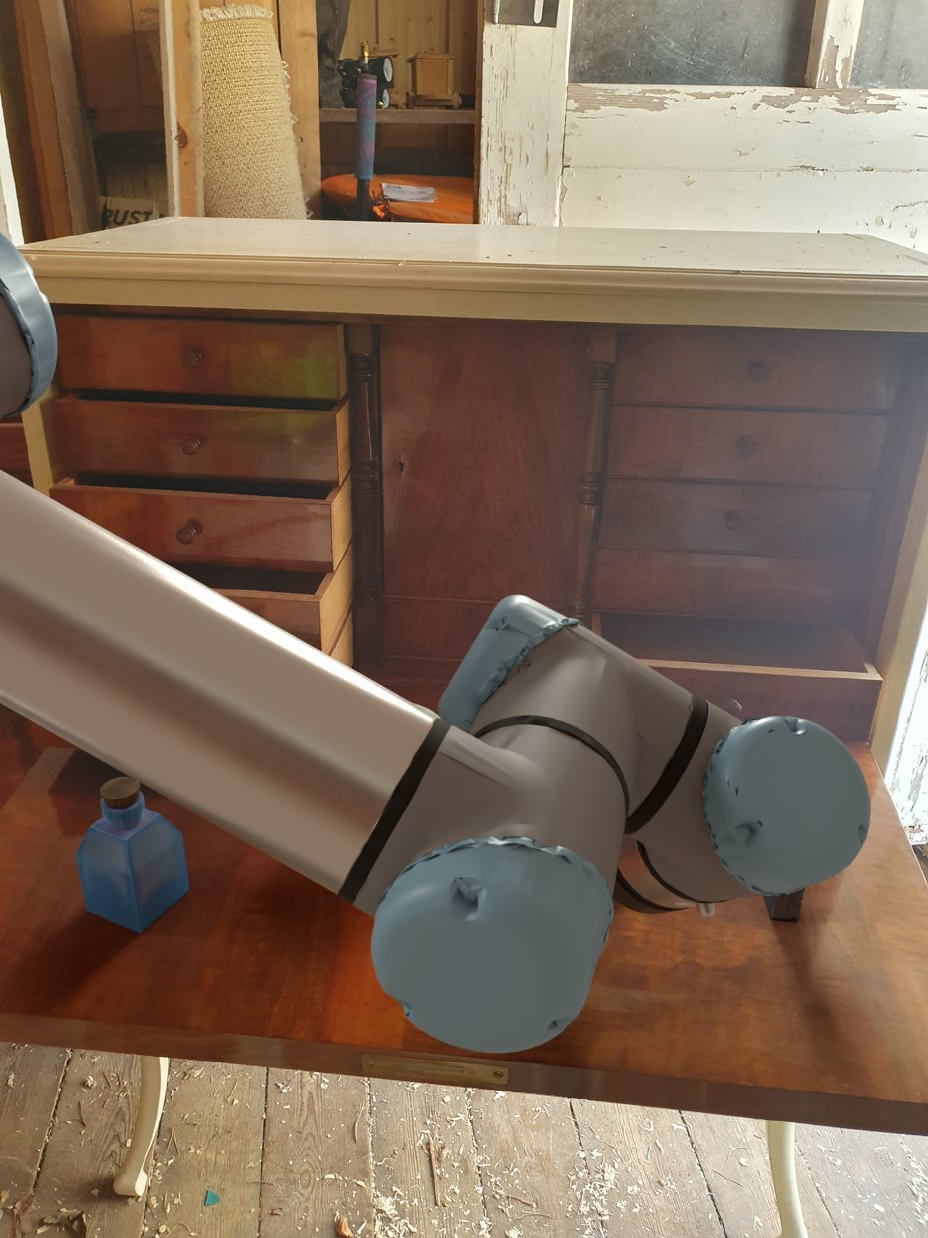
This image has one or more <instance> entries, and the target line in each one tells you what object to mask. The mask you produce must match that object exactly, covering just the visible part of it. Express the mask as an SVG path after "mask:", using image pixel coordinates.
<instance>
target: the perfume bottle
mask: <svg viewBox="0 0 928 1238" xmlns="http://www.w3.org/2000/svg"><path fill="white" fill-rule="evenodd" d="M140 787H141V783H140V782H138V781H137V780H135V779H133V778H131V777H130V776H120V777H116V778H112V779H110V780H108V781H106V782H105V783H104V784H103V785H101V787H100V790H99V793H100V795H101V797H102V798H101V799H100V810H101V815H102V817H101V818H100V819H98V820H97V821H95V822H94V823H92V824H91V825H90V826H89V828H88V829H87V831H86V833H85V835H84V837H83V839H82V840H81V842H80V844H79V846H78V848H77V849H76V851H75V853H74V856H75V860H76V866H77V870H78V875H79V881H80V886H81V891H82V896H83V901H84V907H85V911H86V912H89V913H91V914H93V915H95V916H98V917H100V918H102V919H104V920H107V921H109V922H112V923H114V924H117V925H119V926H122V927H124V928H126V929H129V930H131V931H133V932H136V933H137V934H142V933H143V932H144V931H145V930H146V929H147V928H148V927H150V926H151V925H152V924H153V923H154V922H155V921H156V920H157V919H158V918H159V917H161V916H162V915H163V914H164V913H165V912H166V911H167V910H169V909H170V908H171V907H172V906H173V905H174V904H175V903H176V902H178V900H180V899H181V898H182V897H183V896H185V894H186V893H188V891H189V890H190V885H189V875H188V869H187V861H186V855H185V848H184V841H183V833H181V832H180V831H179V830H178V829H177V827H175V826H173V824H172V823H170V822H169V820H167V819H166V818H165V817H164V816H163V815H162V814H160V813H158V812H155V811H152V810H150V809H147V808H146V807H145V804H146V803H145V797H144V793H143V792H142V791H141V790H140Z"/></svg>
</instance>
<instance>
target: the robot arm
mask: <svg viewBox="0 0 928 1238" xmlns="http://www.w3.org/2000/svg"><path fill="white" fill-rule="evenodd" d="M57 359H58V333H57V329H56V324H55V318H54V316H53V312H52V308H51V304H50V302H49V299H48V297H47V295H46V294H44V293H43V292H41V290H40V288H39V285H38V283H37V281H36V279H35V273H34V270H33V268H32V266H31V265H30V264H29V262H28V261H27V260H26V258H25V257H24V256H23V254H22V253H21V251H20V250H19V249H18V248H17V247H16V246H15V245H14V244H13V242H11V241H10V239H9V238H7V237H6V236H5V235H4V234H3V233H2V232H1V231H0V420H1V419H2V418H9V417H13V416H16V415H20V414H22V413H24V412H26V411H27V410H28V409H29V408H30V407H31V406H32V405H33V404H34V403H35V402H37V401H38V400H39V399H40V398H41V397H42V396H43V395H44V394H45V393H46V391H47V389H48V388H49V386H50V384H51V382H52V380H53V377H54V375H55V372H56V366H57ZM0 704H1V705H3V706H4V707H7V708H8V709H10V710H11V711H13V712H15V713H16V714H19V715H21V716H22V717H24V718H26V719H28V720H30V721H31V722H33V723H35V724H36V725H38V726H40V727H42V728H44V730H46V731H49V732H51V733H53V734H54V735H56V736H58V737H60V739H63V740H64V741H66V742H68V743H70V744H72V745H74V746H75V747H76V748H79V749H80V750H82V751H84V752H86V753H88V754H89V755H91V756H93V757H94V758H96V759H98V760H100V761H102V762H103V763H105V764H107V765H108V766H110V767H112V768H113V769H115V770H117V771H119V772H120V773H123V774H124V775H126V776H127V777H131V778H133V779H135V780H137V781H138V782H139V783H140V784H142V785H143V786H145V787H147V788H149V789H151V790H153V791H154V792H156V793H157V794H159V795H161V796H163V797H165V798H166V799H169V800H170V801H172V802H174V803H175V804H177V805H179V806H181V807H182V808H184V809H186V810H188V811H189V812H191V813H193V814H194V815H197V816H198V817H200V818H202V819H204V820H205V821H206V822H209V823H210V824H212V825H214V826H216V827H217V828H219V829H221V830H223V831H225V832H226V833H228V834H230V835H232V836H234V837H235V838H237V839H239V840H240V841H242V842H244V843H245V844H247V845H250V846H251V847H253V848H254V849H256V850H258V851H259V852H261V853H263V854H265V855H267V856H269V857H270V858H272V859H273V860H276V861H277V862H280V863H281V864H283V865H284V866H286V867H288V868H290V869H291V870H293V871H295V872H297V874H300V875H302V876H304V877H305V878H307V879H309V880H311V881H312V882H314V883H316V884H318V885H319V886H321V887H322V888H325V889H327V890H328V891H330V892H331V893H334V894H335V895H337V897H338V898H340V899H342V900H343V901H345V902H347V903H349V904H351V905H352V907H355V908H356V909H357V910H359V911H361V912H363V913H364V914H366V915H368V916H370V917H371V918H373V919H374V920H373V923H374V924H373V928H372V931H371V938H370V957H371V958H370V959H371V962H372V966H373V969H374V972H375V976H376V980H377V982H378V983H379V985H380V987H381V989H382V990H383V992H384V994H385V995H387V996H389V997H392V998H394V1000H395V1001H396V1002H397V1003H398V1004H399V1005H400V1006H401V1008H402V1009H403V1013H404V1017H405V1019H407V1021H409V1022H410V1023H411V1024H412V1025H414V1026H415V1027H416V1028H418V1029H419V1030H421V1031H422V1032H423V1033H425V1034H427V1035H429V1036H430V1037H432V1038H434V1039H436V1040H438V1041H440V1042H443V1043H444V1044H447V1045H449V1046H453V1047H456V1048H460V1049H463V1050H467V1051H472V1052H475V1053H483V1054H509V1053H516V1052H517V1053H518V1052H521V1051H522V1052H523V1051H526V1050H531V1049H533V1048H535V1047H538V1046H541V1045H544V1044H545V1043H547V1042H549V1041H550V1040H552V1039H554V1038H555V1037H557V1036H558V1035H560V1034H561V1033H562V1032H564V1030H565V1029H566V1028H567V1027H568V1026H569V1025H571V1024H572V1023H573V1022H576V1021H577V1019H578V1017H579V1015H580V1013H581V1011H582V1009H583V1007H584V1005H585V1002H586V1000H587V998H588V996H589V991H590V988H591V984H592V982H593V978H594V974H595V971H596V968H597V964H598V960H599V958H600V957H599V954H600V950H601V947H602V945H603V944H604V942H605V940H606V938H607V936H608V930H609V928H610V926H611V924H612V923H613V920H614V915H615V908H614V901H615V902H616V903H618V904H619V905H621V906H622V907H624V908H626V909H628V910H630V911H633V912H637V913H640V914H644V915H645V914H646V915H662V914H668V913H672V912H679V911H683V910H688V909H691V908H694V907H696V912H697V913H698V915H699V916H700V917H701V918H713V917H714V916H715V915H716V913H717V907H716V904H719V903H726V902H728V901H732V900H737V899H745V898H753V897H761V896H763V895H765V896H785V895H790V894H793V893H794V892H795V891H799V890H801V889H803V888H805V889H806V888H807V887H811V886H814V885H817V884H821V883H822V882H825V881H827V880H830V879H831V878H834V877H835V876H837V875H838V874H840V873H841V872H843V871H844V870H845V869H846V868H848V866H850V865H851V863H853V862H854V861H855V859H856V858H857V856H858V855H859V853H860V851H861V850H862V848H863V846H864V844H865V842H866V840H867V838H868V832H869V828H870V824H871V823H870V822H871V798H870V797H871V796H870V793H869V788H868V784H867V780H866V778H865V775H864V773H863V771H862V769H861V767H860V765H859V763H858V761H857V760H856V758H855V756H854V755H853V754H852V752H851V751H850V749H849V748H848V747H847V746H846V745H845V744H844V742H842V740H840V739H839V738H838V737H837V736H836V735H834V734H833V733H832V732H831V731H830V730H828V729H827V728H825V727H823V726H822V725H820V724H818V723H816V722H814V721H811V720H808V719H804V718H799V717H796V716H788V715H773V716H772V715H771V716H767V717H763V718H762V719H756V718H757V717H754V718H755V719H750V720H748V721H747V722H746V723H745V722H744V721H742V720H740V719H739V718H736V717H735V716H734V715H732V714H730V713H728V712H727V711H725V710H723V709H722V708H721V707H718V706H717V705H715V704H713V702H710V701H709V700H707V699H701V698H700V697H698V696H697V695H695V694H694V693H690V691H689V690H687V689H685V688H684V687H682V686H681V685H680V684H677V683H676V682H674V681H673V680H671V679H669V678H667V677H666V676H664V675H663V674H661V673H660V672H658V671H656V670H655V669H653V668H652V667H650V666H649V665H647V664H645V663H643V662H642V661H640V660H639V659H637V658H635V657H634V656H632V655H631V654H629V653H627V652H625V651H624V650H622V649H621V648H619V647H617V646H616V645H614V644H613V643H611V642H609V641H608V640H606V639H604V638H603V637H601V636H600V635H598V634H597V633H595V632H593V631H592V630H590V629H589V628H587V627H585V626H584V623H583V622H582V621H581V620H579V619H576V618H573V617H572V618H570V617H567V616H565V615H563V614H562V613H560V612H557V611H555V610H553V609H551V608H550V607H548V606H545V605H544V604H541V603H540V602H538V601H536V600H534V599H532V598H530V597H528V596H526V595H522V594H512V595H508V596H505V597H504V598H502V599H501V600H500V601H498V602H497V604H496V605H495V607H494V609H493V610H492V612H491V613H490V615H489V616H488V618H487V620H486V621H485V623H484V625H483V626H482V628H481V630H480V632H479V633H478V635H477V637H476V638H475V640H474V642H473V643H472V645H471V646H470V648H469V650H468V652H467V653H466V654H465V657H464V658H463V660H462V662H461V663H460V665H459V666H458V668H457V670H456V671H455V673H454V674H453V676H452V678H451V680H450V682H449V683H448V685H447V686H446V688H445V689H444V691H443V693H442V694H441V696H440V698H439V700H438V703H437V711H438V716H439V717H440V718H441V719H439V718H438V717H436V716H434V715H432V714H431V713H429V712H427V711H425V710H424V709H422V708H420V707H418V706H417V705H418V704H417V705H415V704H416V703H413V702H411V701H410V700H408V699H405V698H404V697H402V696H401V695H399V694H397V693H395V692H394V691H392V690H390V689H388V688H387V687H384V686H383V685H382V684H380V683H378V682H377V681H374V680H372V679H371V678H369V677H367V676H365V675H363V674H362V673H360V672H358V671H357V670H355V669H353V668H351V667H350V666H348V665H346V664H344V663H342V662H341V661H339V660H337V659H336V658H333V656H330V655H329V654H326V653H325V652H323V651H322V650H319V649H318V648H316V647H314V646H312V645H311V644H308V642H305V641H303V640H302V639H300V638H298V637H296V636H295V635H293V634H291V633H289V632H288V631H286V630H285V629H283V628H280V627H278V626H277V625H275V624H274V623H272V622H270V621H268V620H266V619H265V618H263V617H261V616H259V615H258V614H256V613H254V612H252V611H251V610H249V609H248V608H245V607H244V606H242V605H240V604H238V603H236V602H235V601H233V600H231V599H229V598H227V597H226V596H224V595H223V594H221V593H219V592H218V591H215V590H214V589H212V588H210V587H208V586H207V585H205V584H203V583H202V582H199V581H197V580H196V579H194V578H193V577H191V576H189V575H187V574H185V573H184V572H182V571H180V570H179V569H176V568H175V567H173V566H171V565H170V564H169V563H168V564H167V563H166V562H164V561H162V560H160V559H159V558H157V557H155V556H153V555H152V554H151V553H148V552H146V551H144V550H143V549H141V548H140V547H138V546H135V544H132V543H130V542H129V541H128V540H125V539H123V538H122V537H120V536H118V535H116V534H114V533H113V532H112V531H109V530H108V529H106V528H104V527H102V526H100V525H98V524H97V523H95V522H93V521H92V520H90V519H88V518H86V517H84V516H83V515H81V514H79V513H78V512H75V511H74V510H73V509H70V508H69V507H67V506H65V505H64V504H62V503H60V502H58V501H57V500H54V499H53V498H50V497H49V496H47V495H46V494H44V493H42V492H40V491H39V490H37V489H35V488H34V487H32V486H30V485H28V484H26V483H25V482H23V481H21V480H20V479H18V478H16V477H14V476H12V475H10V474H9V473H7V472H5V471H4V470H1V469H0ZM613 900H614V901H613ZM598 957H599V958H598Z"/></svg>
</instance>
